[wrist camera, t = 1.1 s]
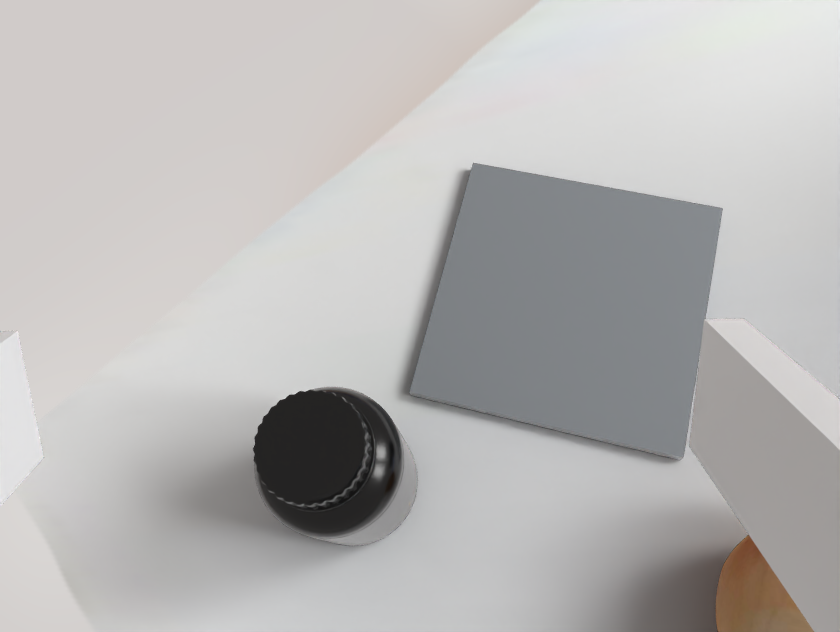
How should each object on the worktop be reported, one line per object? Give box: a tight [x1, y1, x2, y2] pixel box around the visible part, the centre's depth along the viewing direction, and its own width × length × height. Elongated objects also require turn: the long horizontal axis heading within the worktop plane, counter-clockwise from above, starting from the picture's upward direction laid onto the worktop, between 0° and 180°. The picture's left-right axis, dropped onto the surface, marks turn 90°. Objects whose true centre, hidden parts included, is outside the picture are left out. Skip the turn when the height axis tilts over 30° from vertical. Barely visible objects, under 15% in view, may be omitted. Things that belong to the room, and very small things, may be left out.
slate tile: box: [409, 163, 723, 460], centre depth 44 cm, size 15×15×1 cm
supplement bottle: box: [253, 387, 418, 546], centre depth 36 cm, size 7×7×12 cm
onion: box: [716, 535, 814, 632], centre depth 33 cm, size 10×10×10 cm
